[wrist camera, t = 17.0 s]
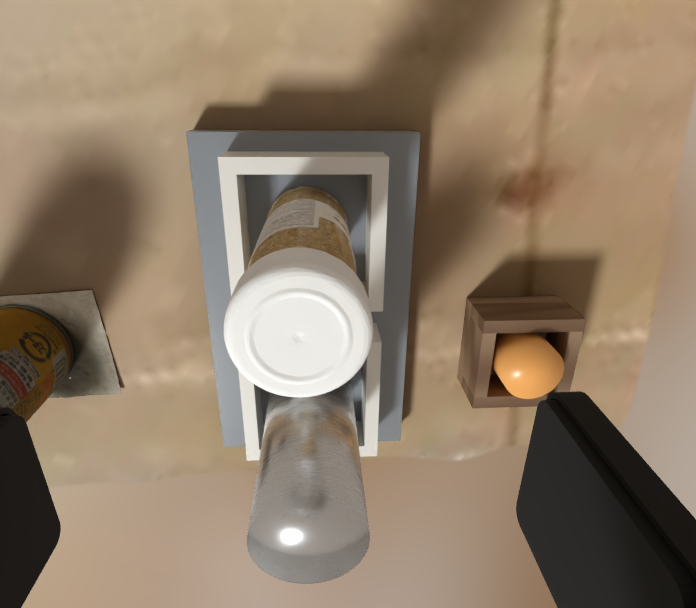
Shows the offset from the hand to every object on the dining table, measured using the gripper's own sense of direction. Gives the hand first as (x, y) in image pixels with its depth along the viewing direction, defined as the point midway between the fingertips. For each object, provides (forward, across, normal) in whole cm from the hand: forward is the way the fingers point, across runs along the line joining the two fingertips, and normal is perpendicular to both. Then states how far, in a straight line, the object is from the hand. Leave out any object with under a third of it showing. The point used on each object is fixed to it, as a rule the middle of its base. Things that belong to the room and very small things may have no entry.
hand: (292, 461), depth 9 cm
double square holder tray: (+20, 0, +6) cm, 21 cm away
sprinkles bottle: (+19, 0, +1) cm, 19 cm away
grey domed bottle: (+19, 0, +11) cm, 22 cm away
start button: (+19, -13, +9) cm, 25 cm away
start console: (+20, -13, +9) cm, 26 cm away
